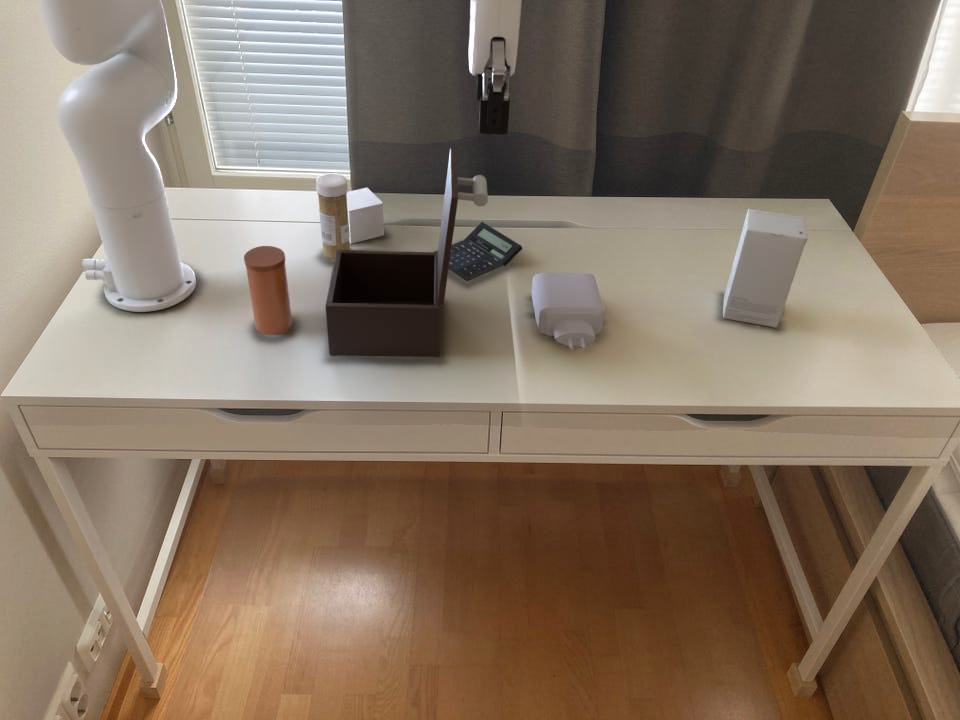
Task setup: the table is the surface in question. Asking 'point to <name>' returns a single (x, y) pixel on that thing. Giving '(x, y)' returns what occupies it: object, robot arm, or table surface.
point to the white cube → (364, 215)
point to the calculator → (481, 252)
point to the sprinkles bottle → (333, 213)
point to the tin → (268, 289)
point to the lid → (454, 216)
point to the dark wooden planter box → (383, 304)
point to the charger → (568, 307)
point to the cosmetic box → (764, 267)
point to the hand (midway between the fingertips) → (491, 115)
